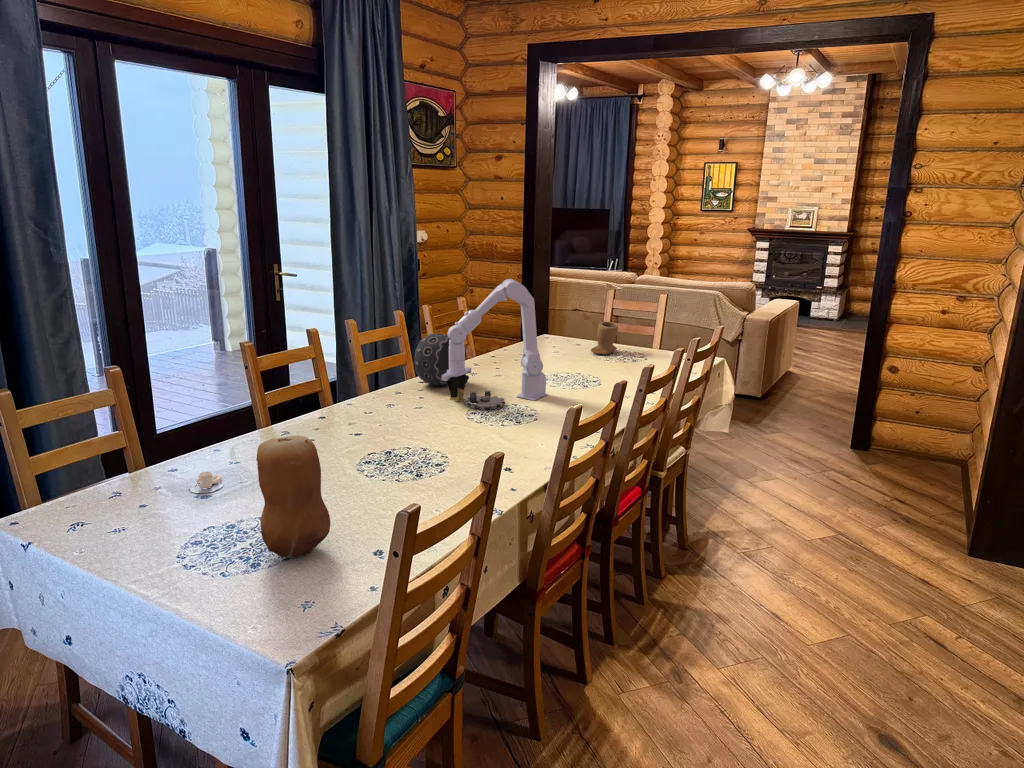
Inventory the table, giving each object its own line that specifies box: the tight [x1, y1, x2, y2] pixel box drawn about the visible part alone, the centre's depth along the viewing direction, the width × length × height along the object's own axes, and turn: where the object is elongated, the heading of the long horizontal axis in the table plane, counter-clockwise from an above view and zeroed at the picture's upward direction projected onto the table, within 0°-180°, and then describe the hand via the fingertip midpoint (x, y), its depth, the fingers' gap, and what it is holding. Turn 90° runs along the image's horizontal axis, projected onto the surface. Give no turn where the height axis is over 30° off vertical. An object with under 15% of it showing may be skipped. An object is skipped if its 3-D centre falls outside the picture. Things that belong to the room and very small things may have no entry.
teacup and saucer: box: [196, 471, 223, 489], centre depth 172 cm, size 9×8×4 cm
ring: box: [413, 333, 450, 387], centre depth 267 cm, size 11×20×20 cm, turn 153°
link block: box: [449, 388, 465, 403], centre depth 250 cm, size 4×3×4 cm
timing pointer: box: [484, 390, 492, 396], centre depth 253 cm, size 1×2×2 cm, turn 85°
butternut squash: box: [256, 435, 331, 559], centre depth 138 cm, size 14×13×25 cm
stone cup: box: [590, 320, 619, 355], centre depth 328 cm, size 15×12×15 cm
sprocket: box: [463, 390, 506, 411], centre depth 244 cm, size 14×14×5 cm
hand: (456, 396), depth 250 cm, fingers closed on link block, 3 cm apart
